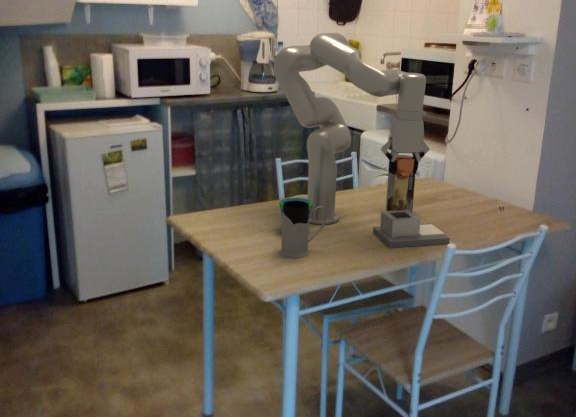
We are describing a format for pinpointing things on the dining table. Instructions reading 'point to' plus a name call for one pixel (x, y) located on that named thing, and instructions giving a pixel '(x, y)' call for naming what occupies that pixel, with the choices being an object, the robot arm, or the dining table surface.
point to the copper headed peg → (402, 178)
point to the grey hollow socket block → (400, 224)
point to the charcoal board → (410, 239)
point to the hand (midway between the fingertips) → (402, 172)
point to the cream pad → (429, 231)
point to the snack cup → (295, 200)
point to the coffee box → (390, 194)
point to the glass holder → (296, 229)
